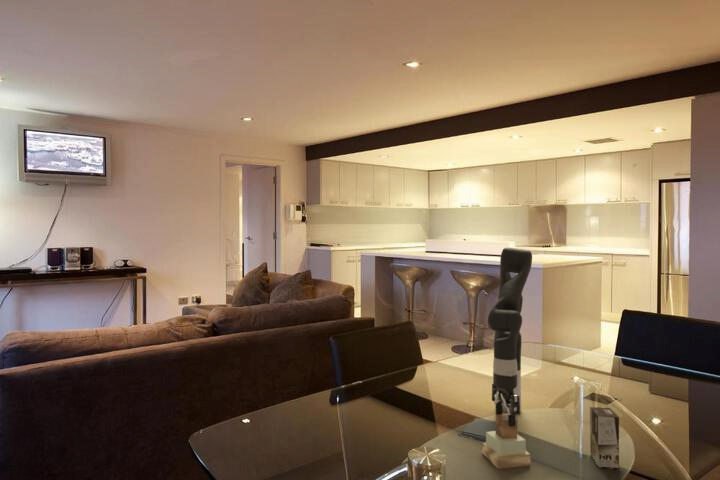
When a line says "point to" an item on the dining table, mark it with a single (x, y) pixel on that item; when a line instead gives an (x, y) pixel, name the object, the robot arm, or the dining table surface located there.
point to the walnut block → (505, 427)
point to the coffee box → (604, 436)
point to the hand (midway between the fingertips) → (505, 421)
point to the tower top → (505, 444)
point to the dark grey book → (479, 429)
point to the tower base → (506, 458)
